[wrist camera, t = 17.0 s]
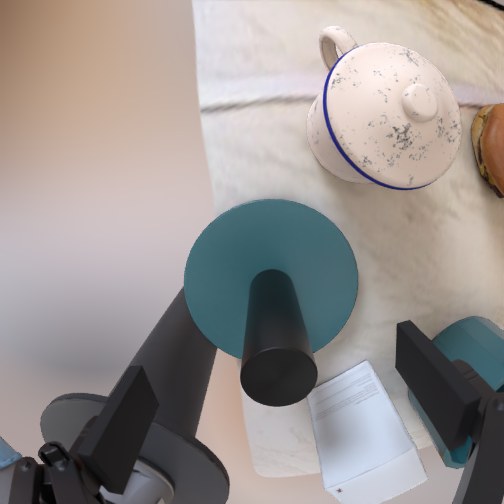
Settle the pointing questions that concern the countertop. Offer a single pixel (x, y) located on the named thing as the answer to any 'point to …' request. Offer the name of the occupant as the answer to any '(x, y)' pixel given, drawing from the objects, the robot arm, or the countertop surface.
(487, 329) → the tin
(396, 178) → the teacup with lid
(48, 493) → the robot arm
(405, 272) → the countertop surface
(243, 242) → the tin lid
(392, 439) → the white packaging box
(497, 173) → the burger
